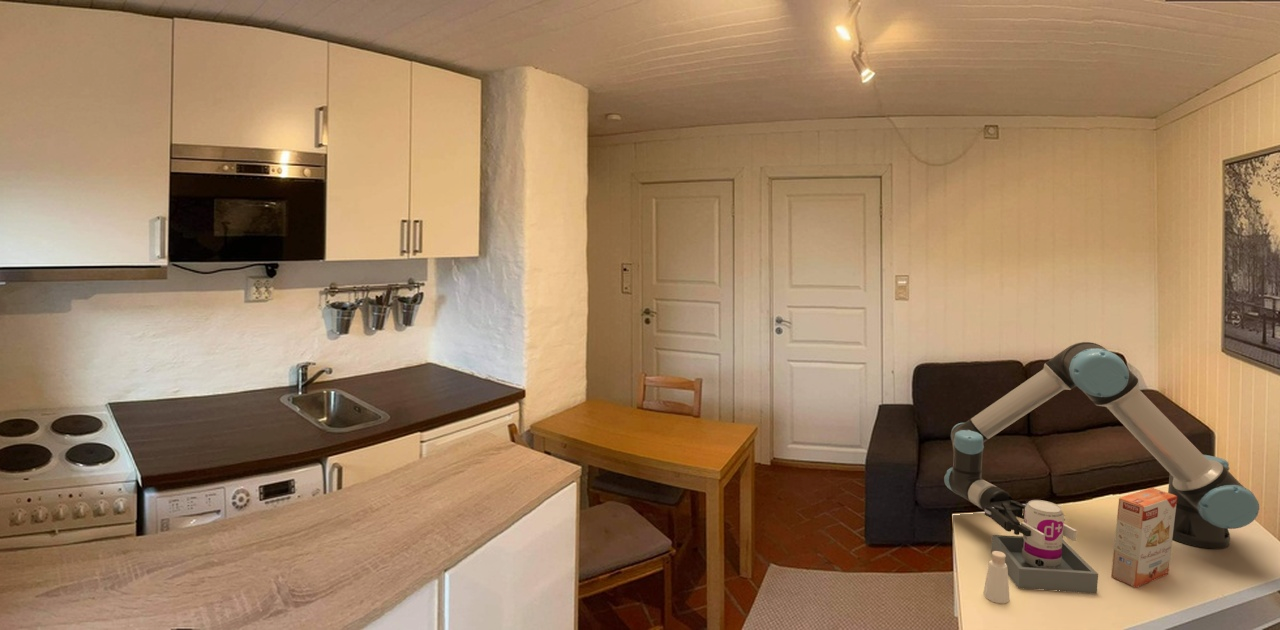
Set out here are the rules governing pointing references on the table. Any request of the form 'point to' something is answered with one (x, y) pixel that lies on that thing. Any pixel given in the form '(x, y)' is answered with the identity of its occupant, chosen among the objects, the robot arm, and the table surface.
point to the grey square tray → (1064, 578)
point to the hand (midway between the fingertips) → (1059, 537)
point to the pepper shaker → (997, 579)
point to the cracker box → (1143, 536)
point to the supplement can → (1049, 523)
